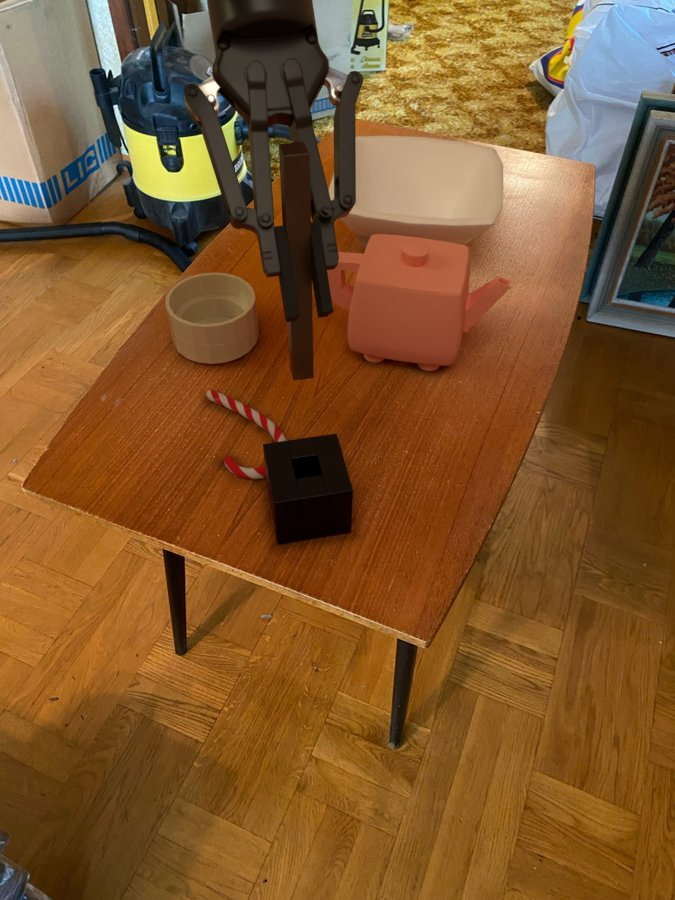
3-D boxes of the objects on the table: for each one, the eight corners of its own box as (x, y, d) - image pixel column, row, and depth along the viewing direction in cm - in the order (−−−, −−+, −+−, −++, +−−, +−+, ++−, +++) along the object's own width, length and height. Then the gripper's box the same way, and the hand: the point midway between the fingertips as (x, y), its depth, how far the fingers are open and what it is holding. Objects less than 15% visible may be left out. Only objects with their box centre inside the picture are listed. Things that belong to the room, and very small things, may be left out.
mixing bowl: (162, 362, 90) (153, 321, 85) (187, 309, 97) (180, 268, 92) (248, 371, 89) (243, 330, 84) (266, 317, 96) (263, 276, 91)
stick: (293, 381, 61) (283, 156, 47) (289, 367, 63) (278, 143, 48) (313, 378, 62) (310, 153, 47) (309, 364, 63) (304, 141, 48)
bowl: (320, 277, 102) (319, 212, 95) (346, 191, 119) (347, 129, 111) (489, 295, 100) (503, 230, 92) (492, 204, 116) (504, 142, 109)
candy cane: (231, 377, 86) (304, 450, 78) (232, 385, 87) (304, 458, 79) (174, 404, 83) (244, 484, 75) (176, 412, 84) (245, 492, 76)
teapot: (497, 325, 96) (519, 230, 85) (490, 388, 87) (513, 292, 77) (337, 302, 98) (339, 208, 88) (316, 361, 90) (315, 265, 80)
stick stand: (277, 545, 72) (273, 502, 66) (267, 487, 77) (262, 443, 71) (351, 533, 73) (353, 490, 68) (336, 476, 78) (336, 433, 72)
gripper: (348, 12, 56) (392, 311, 58) (157, 24, 54) (209, 336, 55) (368, -49, 49) (418, 295, 50) (148, -38, 46) (208, 323, 48)
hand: (309, 316), depth 53 cm, fingers closed on stick, 2 cm apart
